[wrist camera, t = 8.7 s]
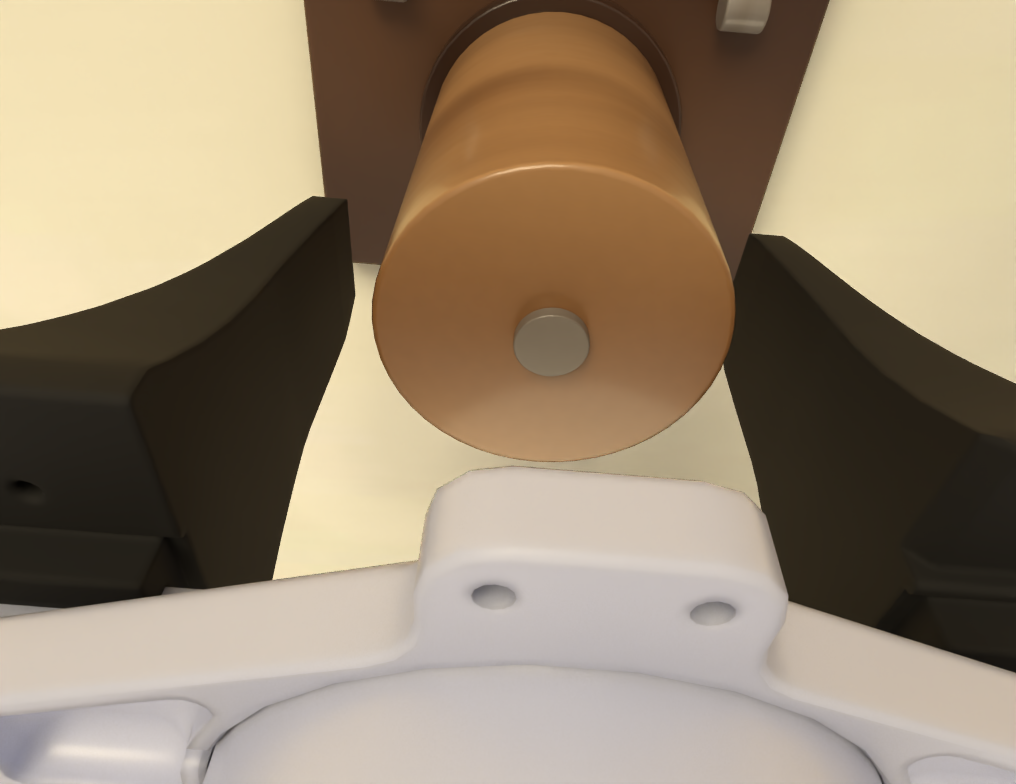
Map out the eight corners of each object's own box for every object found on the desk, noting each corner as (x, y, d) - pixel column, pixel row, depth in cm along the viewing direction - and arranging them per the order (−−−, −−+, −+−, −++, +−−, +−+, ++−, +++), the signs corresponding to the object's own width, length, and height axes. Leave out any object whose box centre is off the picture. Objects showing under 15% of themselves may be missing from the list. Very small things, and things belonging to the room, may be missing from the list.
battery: (650, 252, 17) (704, 499, 11) (422, 233, 17) (357, 472, 11) (707, -1, 14) (830, 167, 8) (420, -26, 13) (326, 122, 8)
